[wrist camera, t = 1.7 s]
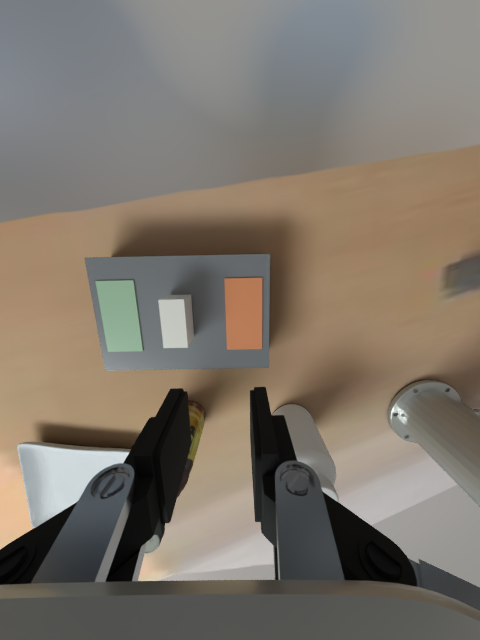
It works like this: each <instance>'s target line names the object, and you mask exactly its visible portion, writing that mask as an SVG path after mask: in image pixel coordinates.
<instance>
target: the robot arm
mask: <svg viewBox="0 0 480 640" xmlns="http://www.w3.org/2000/svg"><path fill="white" fill-rule="evenodd" d="M388 421H389V424H390V426H391V428H392V429H393V430H394V432H395V433H396V434H397V435H398V436H399V437H401V438H402V439H404V440H406V441H409V442H414V443H418V444H419V445H420V446H421V447H422V448H423V449H424V450H425V451H426V452H427V453H428V454H429V455H430V456H431V457H432V459H433V460H434V461H435V462H436V463H437V464H438V465H439V466H440V467H441V468H442V469H443V470H444V471H445V472H446V473H447V474H448V475H449V476H450V477H451V478H452V479H453V480H454V481H455V482H456V483H457V484H458V485H459V486H460V487H461V488H462V489H463V490H464V491H465V492H466V493H467V494H468V495H469V496H470V497H471V498H472V499H473V501H475V502H476V504H477V505H478V506H480V409H473V410H472V409H471V408H469V407H468V406H466V405H465V404H463V403H462V400H461V398H460V396H459V394H458V393H457V391H456V390H455V389H453V388H452V387H451V386H449V385H447V384H446V383H443V382H441V381H436V380H423V381H418V382H415V383H412V384H410V385H409V386H407V387H405V388H404V389H402V390H401V391H400V392H399V393H398V394H397V395H396V396H395V397H394V399H393V400H392V402H391V404H390V407H389V410H388ZM250 438H251V458H252V475H253V493H254V510H255V522H261V530H262V533H263V534H264V536H265V537H266V538H267V539H268V540H269V541H270V542H271V543H272V544H273V553H274V580H210V581H209V580H208V581H207V580H206V581H138V577H139V573H140V569H141V565H142V561H143V557H144V553H145V549H146V542H147V541H148V540H150V539H151V538H152V537H153V535H162V533H163V529H164V526H165V523H169V522H170V521H171V517H172V514H173V510H174V506H175V502H176V499H177V495H178V491H179V488H180V484H181V480H182V476H183V473H184V469H185V465H186V461H187V458H188V454H189V450H190V446H191V429H190V417H189V405H188V394H187V391H186V392H184V390H183V389H170V391H169V393H168V395H167V396H166V398H165V400H164V402H163V404H162V406H161V407H160V409H159V411H158V413H157V415H156V417H151V418H149V420H148V421H147V423H146V425H145V426H144V428H143V430H142V432H141V433H140V435H139V437H138V438H137V440H136V442H135V444H134V445H133V447H132V449H131V451H130V452H129V454H128V456H127V457H126V459H125V461H124V463H119V464H114V465H111V466H109V467H106V468H105V469H103V470H101V471H100V472H98V473H97V474H96V475H95V476H94V477H93V478H92V479H91V481H90V482H89V483H88V485H87V486H86V488H85V490H84V492H83V493H82V495H81V497H80V499H79V500H78V502H76V503H75V504H73V505H71V506H70V507H68V508H66V509H65V510H63V511H62V512H60V513H58V514H57V515H55V516H53V517H52V518H50V519H49V520H47V521H45V522H44V523H42V524H40V525H39V526H37V527H35V528H34V529H32V530H31V531H29V532H27V533H26V534H24V535H22V536H21V537H19V538H18V539H16V540H14V541H13V542H11V543H9V544H8V545H6V546H5V547H4V548H2V549H1V550H0V640H480V588H479V587H477V586H475V585H473V584H471V583H469V582H467V581H465V580H463V579H461V578H458V577H456V576H454V575H452V574H450V573H448V572H446V571H444V570H441V569H439V568H437V567H435V566H433V565H431V564H429V563H427V562H425V561H422V560H420V559H419V560H418V563H416V562H414V561H412V560H410V559H408V558H407V556H406V555H405V554H404V553H403V551H402V550H401V549H400V548H399V547H398V546H397V545H396V544H395V543H394V542H393V541H391V540H390V539H389V538H387V537H386V536H385V535H383V534H382V533H380V532H379V531H378V530H376V529H375V528H373V527H372V526H371V525H369V524H368V523H366V522H365V521H364V520H362V519H361V518H359V517H358V516H357V515H355V514H354V513H352V512H351V511H350V510H348V509H347V508H345V507H344V506H343V505H341V504H340V503H338V502H337V501H336V500H334V499H333V498H331V497H330V496H328V495H327V494H326V493H324V492H323V491H322V488H321V484H320V480H319V478H318V476H317V474H316V473H315V471H314V470H313V469H312V468H311V467H309V466H308V465H307V464H304V463H302V462H299V461H297V458H296V454H295V451H294V447H293V444H292V440H291V437H290V434H289V430H288V427H287V423H286V420H285V417H284V415H271V412H270V407H269V402H268V397H267V392H266V387H254V390H250Z"/></svg>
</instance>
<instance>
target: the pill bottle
mask: <svg viewBox="0 0 480 640" xmlns="http://www.w3.org/2000/svg"><path fill="white" fill-rule="evenodd" d="M273 415H284V417H285V420H286V423H287V427H288V430H289V434H290V437H291V440H292V444H293V447H294V451H295V454H296V458H297V461H299V462H302V463H304V464H307V465H308V466H309V467H311V468H312V469H313V470H314V471H315V473H316V474H317V476H318V478H319V480H320V484H321V488H322V491H323V492H324V493H326V494H327V495H328V496H330V497H331V498H333V499H334V500H336V501H337V502H338V495H337V493H336V490H335V488H334V486H333V485H334V483H335V480H336V469H335V465H334V462H333V460H332V458H331V456H330V454H329V452H328V450H327V448H326V445H325V443H324V441H323V439H322V437H321V435H320V433H319V431H318V429H317V427H316V425H315V423H314V421H313V419H312V416H311V415H310V413H309V412H308V411H307V410H306V409H305V408H303V407H302V406H299V405H295V404H289V405H284V406H282V407H280V408H278V409H277V410H276V411H275V412H274V413H273Z"/></svg>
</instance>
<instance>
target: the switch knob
mask: <svg viewBox="0 0 480 640" xmlns="http://www.w3.org/2000/svg"><path fill="white" fill-rule="evenodd" d="M158 303H159V312H160V321H161V330H162V339H163V348H188V347H189V345H190V343H191V342H192V340H193V338H194V327H193V314H192V300H191V294H189V295H167V296H165V297H163V298H161V299H159V300H158Z"/></svg>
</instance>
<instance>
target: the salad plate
mask: <svg viewBox="0 0 480 640" xmlns="http://www.w3.org/2000/svg"><path fill="white" fill-rule="evenodd" d="M130 451H131V449H122V448H100V447H85V446H74V445H63V444H54V443H46V442H24V443H20V444H19V445H18V454H19V459H20V464H21V469H22V475H23V480H24V485H25V490H26V496H27V502H28V508H29V514H30V520H31V524H32V527H34V528H35V527H37V526H39V525H40V524H42V523H44V522H45V521H47V520H49V519H50V518H52V517H53V516H55V515H57V514H58V513H60V512H62V511H63V510H65V509H66V508H68V507H70V506H71V505H73V504H75V503H76V502H78V500H79V499H80V497H81V495H82V493H83V492H84V490H85V488H86V486H87V485H88V483H89V482H90V481H91V479H92V478H93V477H94V476H95V475H96V474H97V473H98V472H100V471H101V470H103V469H105V468H106V467H109V466H111V465H114V464H119V463H124V461H125V459H126V457H127V456H128V454H129V452H130Z"/></svg>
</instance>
